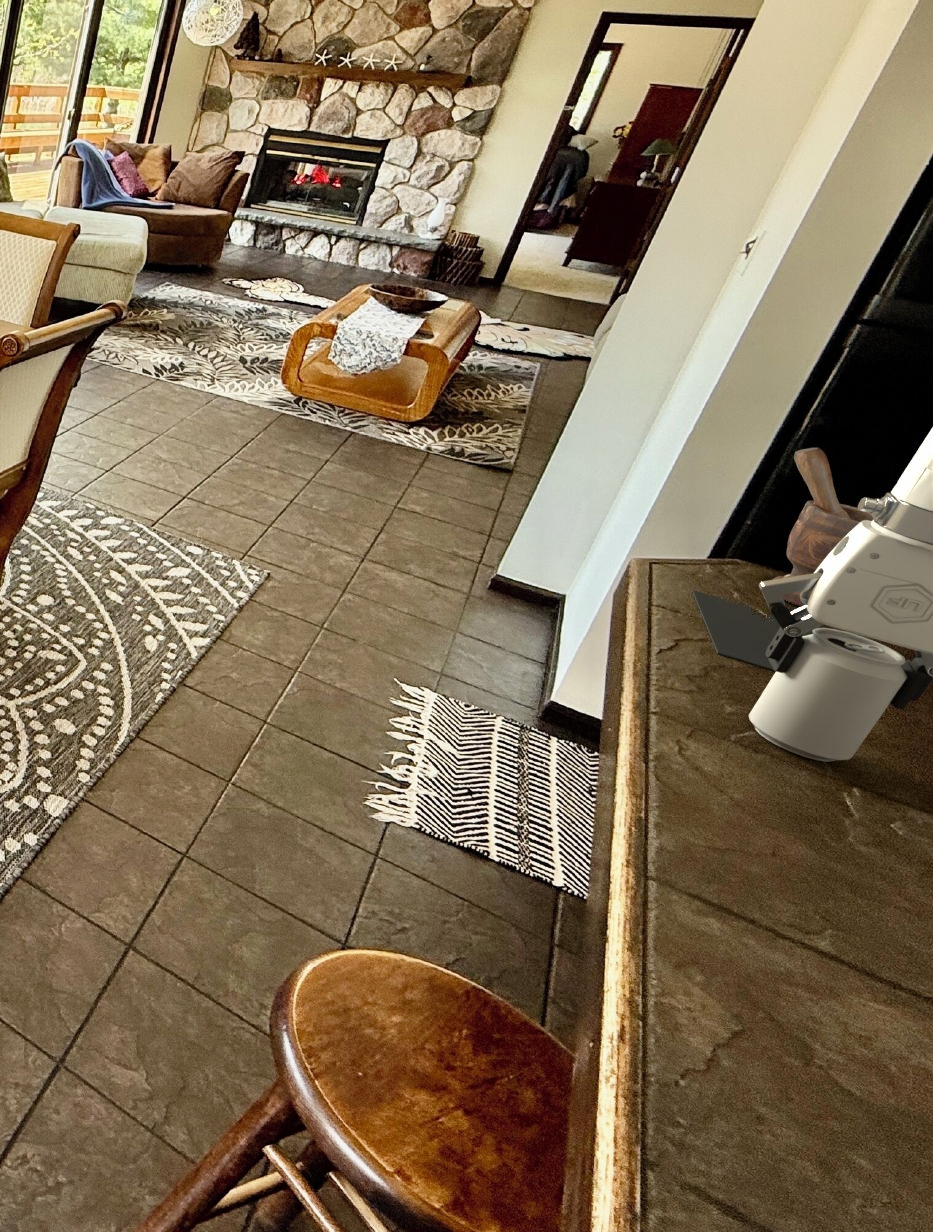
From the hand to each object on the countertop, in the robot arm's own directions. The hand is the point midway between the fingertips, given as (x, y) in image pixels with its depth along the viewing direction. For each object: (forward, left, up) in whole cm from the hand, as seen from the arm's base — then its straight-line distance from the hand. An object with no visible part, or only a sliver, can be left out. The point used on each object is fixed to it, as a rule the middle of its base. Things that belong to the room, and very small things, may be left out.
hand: (833, 682), depth 91 cm
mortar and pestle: (-7, -47, -8) cm, 48 cm away
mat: (-3, -28, -7) cm, 29 cm away
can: (0, 0, -7) cm, 7 cm away
